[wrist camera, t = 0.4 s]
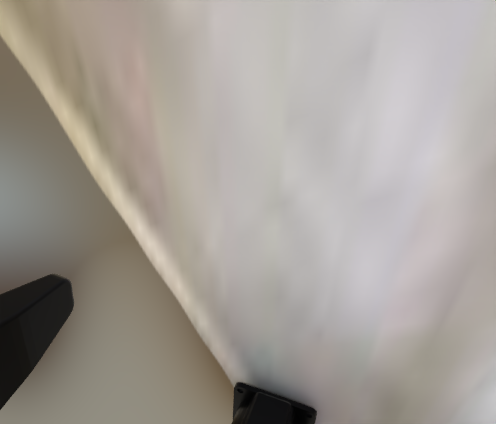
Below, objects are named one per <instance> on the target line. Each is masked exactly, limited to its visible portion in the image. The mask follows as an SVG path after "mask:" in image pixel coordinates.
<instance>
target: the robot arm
mask: <svg viewBox="0 0 496 424" xmlns="http://www.w3.org/2000/svg"><path fill="white" fill-rule="evenodd" d="M73 306H74V299H73V292H72V285H71V281H70V280H69V279H67V278H65V277H62V276H60V275H58V274H50V275H47V276H45V277H42V278H40V279H37V280H35V281H32V282H30V283H27V284H25V285H22V286H20V287H17V288H15V289H12V290H10V291H7V292H5V293H3V294H0V410H1V408H2V407H3V406H4V405H5V403H6V402H7V401H8V400H9V399H10V397H11V396H12V395H13V394H14V392H15V391H16V390H17V389H18V388H19V386H20V385H21V384H22V383H23V382H24V380H25V379H26V378H27V377H28V375H29V374H30V373H31V372H32V370H33V369H34V367H35V366H36V364H37V363H38V362H39V360H40V359H41V357H42V356H43V354H44V353H45V351H46V350H47V348H48V347H49V345H50V344H51V342H52V341H53V339H54V338H55V336H56V335H57V333H58V332H59V330H60V329H61V327H62V326H63V324H64V323H65V321H66V320H67V319H68V317H69V316H70V314H71V312H72V310H73ZM316 415H317V411H316V410H315V409H314V408H312V407H309V406H306V405H304V404H301V403H298V402H295V401H292V400H289V399H287V398H284V397H281V396H278V395H275V394H272V393H270V392H267V391H264V390H261V389H258V388H255V387H253V386H250V385H247V384H244V383H241V382H238V383H236V385H235V388H234V406H233V422H232V424H314V423H315V419H316Z"/></svg>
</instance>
